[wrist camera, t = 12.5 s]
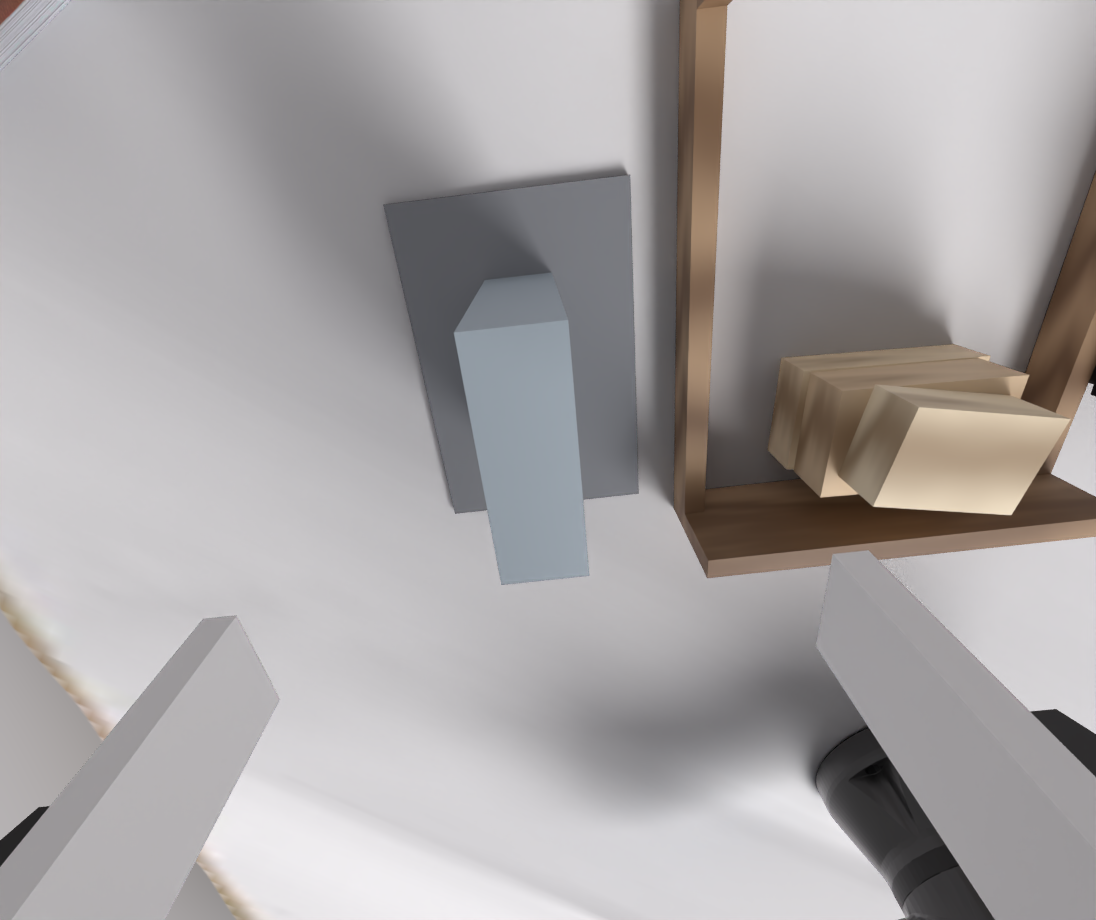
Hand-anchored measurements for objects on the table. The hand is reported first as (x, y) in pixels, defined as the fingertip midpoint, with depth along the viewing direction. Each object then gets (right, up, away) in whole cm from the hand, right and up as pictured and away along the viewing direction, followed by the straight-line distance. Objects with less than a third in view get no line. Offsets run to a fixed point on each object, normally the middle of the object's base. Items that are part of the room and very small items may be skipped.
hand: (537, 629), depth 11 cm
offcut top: (+19, +5, +14) cm, 24 cm away
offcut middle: (+19, +6, +16) cm, 26 cm away
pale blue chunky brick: (-1, +9, +17) cm, 19 cm away
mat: (-1, +9, +17) cm, 19 cm away
